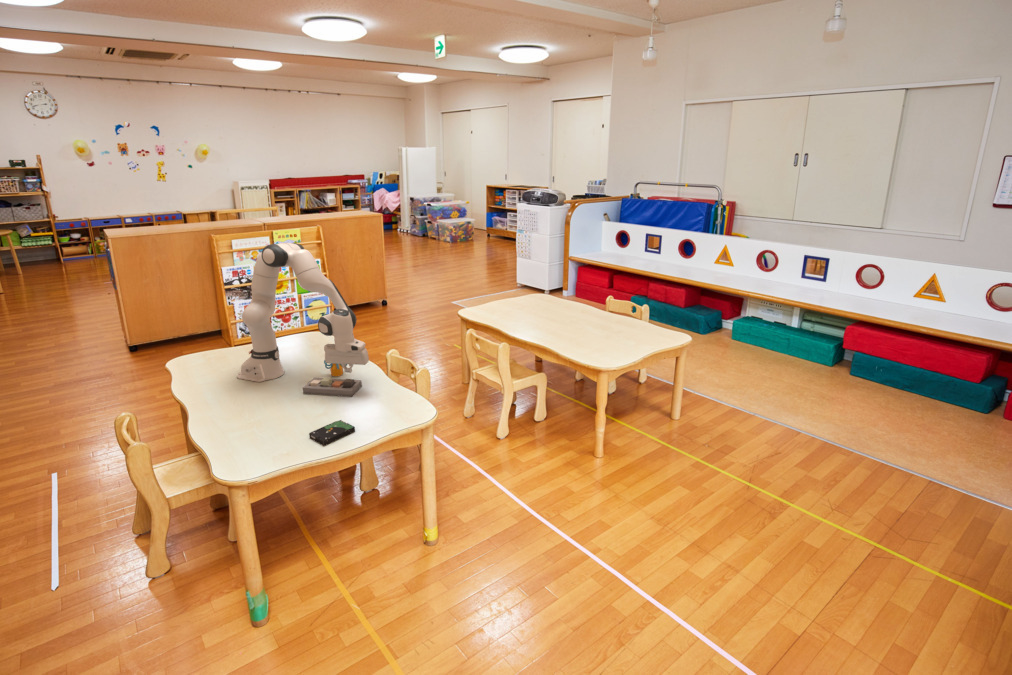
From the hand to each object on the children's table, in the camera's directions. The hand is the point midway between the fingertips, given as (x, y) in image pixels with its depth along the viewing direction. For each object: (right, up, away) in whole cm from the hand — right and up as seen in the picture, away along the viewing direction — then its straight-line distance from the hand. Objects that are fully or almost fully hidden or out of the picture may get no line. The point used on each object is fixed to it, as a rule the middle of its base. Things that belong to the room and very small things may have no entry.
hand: (348, 372), depth 259 cm
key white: (-17, -7, +5) cm, 19 cm away
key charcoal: (0, -6, +2) cm, 7 cm away
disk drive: (+4, -24, -35) cm, 43 cm away
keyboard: (-9, -9, +4) cm, 13 cm away
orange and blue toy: (-12, -3, +22) cm, 25 cm away
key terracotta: (-6, -7, +3) cm, 10 cm away
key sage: (-11, -6, +4) cm, 13 cm away
